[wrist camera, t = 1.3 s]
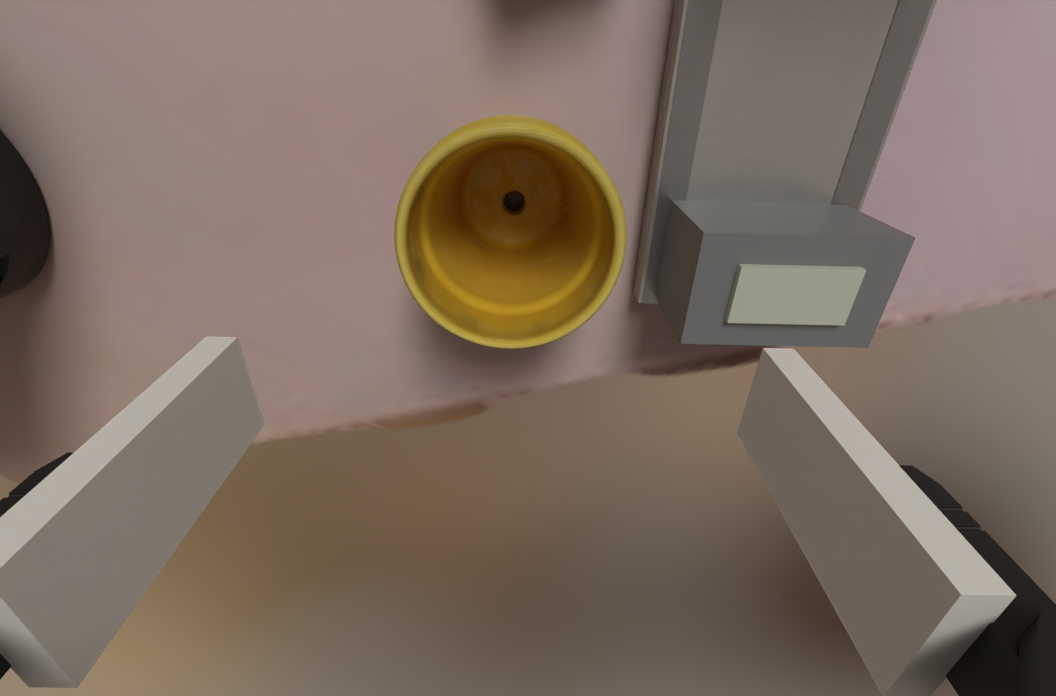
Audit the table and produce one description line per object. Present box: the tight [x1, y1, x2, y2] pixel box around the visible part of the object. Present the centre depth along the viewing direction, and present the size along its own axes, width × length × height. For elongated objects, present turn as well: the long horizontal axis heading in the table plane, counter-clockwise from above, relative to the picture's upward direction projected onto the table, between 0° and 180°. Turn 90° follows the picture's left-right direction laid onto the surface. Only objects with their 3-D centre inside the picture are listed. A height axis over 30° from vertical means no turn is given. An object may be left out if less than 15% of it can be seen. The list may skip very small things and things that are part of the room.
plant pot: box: [394, 115, 626, 349], centre depth 26 cm, size 10×10×10 cm
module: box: [656, 200, 915, 348], centre depth 27 cm, size 10×6×6 cm, turn 89°
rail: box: [633, 0, 937, 304], centre depth 26 cm, size 12×26×2 cm, turn 179°
